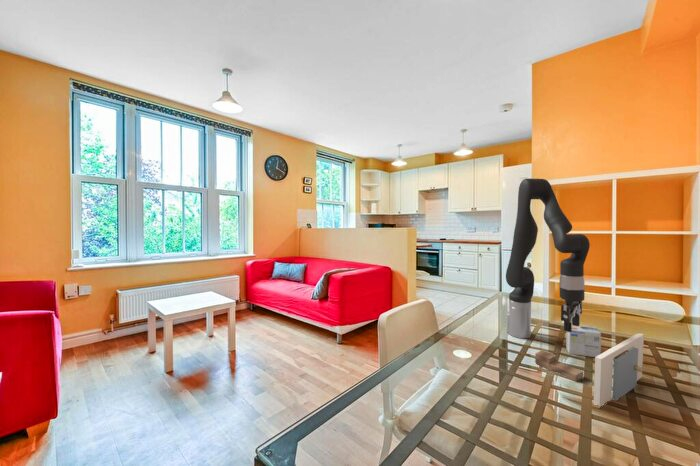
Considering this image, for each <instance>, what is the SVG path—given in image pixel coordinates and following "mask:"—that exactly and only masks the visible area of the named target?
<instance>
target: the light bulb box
mask: <svg viewBox="0 0 700 466" xmlns="http://www.w3.org/2000/svg"><path fill="white" fill-rule="evenodd" d="M565 333H566V334H565V338H566V339H565V348H566V350H567V353H568V354H570V355H577V356H584V357H591V358H595V357H596V356H598V355H600V354H602V352H601V349H602V348H601V347H602V346H601V345H602V333H601V332H600V330H599V329H598V328H597V327H596V326H586V325H579V326H574V325H572V331H571V332H566V331H565Z"/></svg>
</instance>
